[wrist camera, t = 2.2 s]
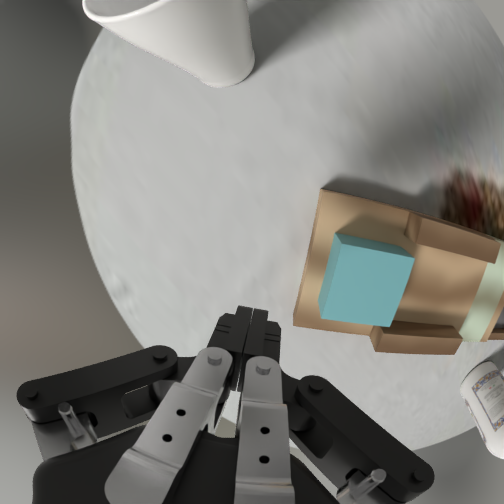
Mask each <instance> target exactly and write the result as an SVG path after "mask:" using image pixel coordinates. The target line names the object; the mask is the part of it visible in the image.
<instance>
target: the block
mask: <svg viewBox="0 0 504 504" xmlns="http://www.w3.org/2000/svg"><path fill="white" fill-rule="evenodd" d="M414 260H415V258H414V257H413V256H412V255H410V254H409V253H408V252H407V251H406V250H405V249H403V248H402V247H401V246H397V245H393V244H388V243H384V242H379V241H374V240H369V239H365V238H360V237H355V236H350V235H345V234H340V233H334V238H333V242H332V246H331V250H330V255H329V259H328V263H327V267H326V271H325V275H324V278H323V282H322V286H321V290H320V293H319V297H318V304H319V309H320V315H321V319H328V320H335V321H342V322H350V323H358V324H366V325H375V326H384V327H390V325H391V323H392V320H393V318H394V316H395V313H396V311H397V308H398V306H399V303H400V300H401V298H402V295H403V293H404V290H405V287H406V284H407V281H408V279H409V276H410V273H411V270H412V267H413V263H414Z"/></svg>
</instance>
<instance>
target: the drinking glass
mask: <svg viewBox="0 0 504 504" xmlns="http://www.w3.org/2000/svg"><path fill="white" fill-rule="evenodd" d="M82 4H83V9H84V12H85V13H86V15H87V16H88V17H89V18H90V19H92V20H94V21H95V22H97V23H98V24H100V25H101V26H103V27H104V28H106V29H107V30H109V31H110V32H112V33H114V34H115V35H117V36H118V37H120V38H122V39H123V40H125V41H127V42H128V43H130V44H132V45H134V46H136V47H138V48H140V49H142V50H144V51H146V52H148V53H150V54H152V55H154V56H156V57H158V58H160V59H162V60H164V61H166V62H168V63H171V64H172V65H174V66H176V67H178V68H180V69H182V70H184V71H186V72H188V73H189V74H191V75H193V76H195V77H196V78H197V79H199V80H200V81H201V82H202V83H204V84H206V85H208V86H211V87H217V88H224V87H230V86H233V85H235V84H238V83H239V82H241V81H243V80H244V79H245V78H246V77H247V76H248V75H249V74H250V72H251V71H252V69H253V67H254V63H255V53H254V50H253V47H252V39H251V31H250V22H249V13H248V5H247V0H83V2H82Z"/></svg>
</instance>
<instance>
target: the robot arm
mask: <svg viewBox="0 0 504 504" xmlns="http://www.w3.org/2000/svg"><path fill="white" fill-rule="evenodd" d="M252 311H253V308H250V307H244V306H238V308H237V311H236V314H235V315H234V314H228V313H225V314H224V315H223V316H221V317H220V318H219V320H218V322H217V325H216V327H215V330H214V332H213V334H212V336H211V338H210V341H209V343H208V345H207V348H205V349H203V350H201V351H200V352H199V353H198V355H197V356H194V357H177V354H176V352H175V351H174V350H173V349H172V348H170V347H167V346H162V345H157V346H152V347H149V348H146V349H143V350H140V351H136V352H134V353H130V354H127V355H124V356H120V357H117V358H114V359H110V360H107V361H104V362H100V363H97V364H93V365H90V366H86V367H83V368H79V369H75V370H72V371H68V372H64V373H60V374H57V375H52V376H48V377H44V378H40V379H36V380H31V381H27V382H25V383H24V384H22V385H21V386H20V387H19V389H18V391H17V400H18V402H19V404H20V405H21V407H22V409H23V410H24V412H25V413H26V416H27V418H28V419H29V420H30V422H31V423H32V425H33V429H34V433H35V435H36V439H37V443H38V445H39V448H40V452H41V454H42V457H43V460H44V462H42V463H41V464H40V465H39V466H38V468H37V469H36V471H35V474H34V477H33V502H32V504H407V503H408V502H410V501H411V500H413V499H414V498H416V497H417V496H419V495H420V494H422V493H423V492H425V491H426V490H427V489H429V488H430V487H431V486H432V484H433V482H434V471H433V469H432V467H431V466H430V465H429V464H427V463H426V462H425V461H424V460H422V459H421V458H420V457H418V456H417V455H416V454H414V453H413V452H412V451H411V450H409V449H408V448H407V447H406V446H404V445H403V444H402V443H401V442H399V441H398V440H397V439H396V438H394V437H393V436H392V435H391V434H389V433H388V432H387V431H386V430H385V429H383V428H382V427H381V426H380V425H378V424H377V423H376V422H375V421H374V420H372V419H371V418H370V417H369V416H368V415H367V414H365V413H364V412H363V411H362V410H361V409H359V408H358V407H357V406H356V405H355V404H354V403H352V402H351V401H350V400H349V399H348V398H347V397H346V396H344V395H343V394H342V393H341V392H340V391H339V390H338V389H336V388H335V387H334V386H333V385H332V384H331V383H330V382H329V381H327V380H326V379H324V378H322V377H319V376H314V375H310V376H305V377H303V378H302V379H301V380H298V379H295V378H292V377H290V376H288V375H287V374H285V373H284V372H283V371H282V369H281V367H280V365H279V358H280V341H281V328H280V326H279V324H278V323H277V322H272V321H267V318H268V311H267V310H261V309H255V308H254V311H253V315H252ZM251 317H252V319H251ZM250 323H251V324H250ZM240 370H241V371H240ZM239 374H240V377H239ZM238 378H239V382H238ZM237 383H238V388H237V391H238V392H241V394H240V400H239V405H238V413H237V421H236V430H235V438H221V437H217V436H215V435H214V434H215V431H216V429H217V426H218V424H219V421H220V419H221V416H222V413H223V411H224V408H225V406H226V402H227V399H228V397H229V394H230V390H232V391H236V387H237ZM146 385H147V386H146ZM143 386H146V387H143ZM141 387H143V388H141ZM138 388H141V389H138ZM135 389H138V390H135ZM132 390H135V391H132ZM130 391H132V392H130ZM127 392H130V393H127ZM125 393H127V394H125ZM149 419H150V421H149V423H148V424H147V425H142V426H139V427H135V428H133V429H130V430H128V431H126V432H123V433H121V434H119V435H116V436H114V437H111V438H108V439H106V440H103V441H100V442H98V443H97V439H98V438H101V437H104V436H107V435H109V434H112V433H115V432H118V431H121V430H123V429H126V428H129V427H131V426H134V425H137V424H139V423H141V422H144V421H146V420H149ZM289 438H290V439H291V440H292V441H293V442H294V443H295V444H296V446H297V447H298V448H299V449H300V450H301V451H302V452H303V453H304V454H305V455H306V456H307V457H308V458H309V459H310V461H311V462H312V463H313V464H314V465H315V466H316V467H317V468H318V469H319V470H320V471H321V472H322V473H323V474H324V475H325V476H326V477H327V478H328V479H329V480H330V481H331V482H332V483H333V484H334V485H335V486H336V487H337V488H338V491H337V496H336V497H337V500H336V499H335V498H334V496H333V495H331V493H330V492H329V491H328V490H327V489H326V488H325V487H324V486H323V485H322V484H321V482H320V481H319V480H317V478H316V477H315V476H314V475H313V474H312V472H311V471H310V470H309V469H308V468H307V467H306V466H305V465H304V463H302V462H301V461H300V460H299V459H298V458H296V457H295V456H293V455H292V454H290V447H289Z"/></svg>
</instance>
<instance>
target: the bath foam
mask: <svg viewBox="0 0 504 504" xmlns="http://www.w3.org/2000/svg"><path fill="white" fill-rule="evenodd" d="M460 393H461V395H462V397H463V399H464V401H465V403H466V405H467V407H468V409H469V411H470V413H471V415H472V417H473V419H474V421H475V423H476V425H477V427H478V429H479V432H480V434H481V436H482V438H483V441H484V443H485V445H486V447H487V448H488V450H489V451H490V452H491V453H492V454H493V455H494V456H496V457H499V458H501V459H504V377H503V375H502V374H501V372H500V371H499V370H498V368H497V367H496V366H495V364H494V363H493V362H490V361H489V362H484V363H482V364H480V365H478V366H477V367H476V368H474V369H473V370H472V371H471V372H470V373H469V374H468V375H467V377H466V378H465V379H464V381H463V383H462V385H461V388H460Z"/></svg>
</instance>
